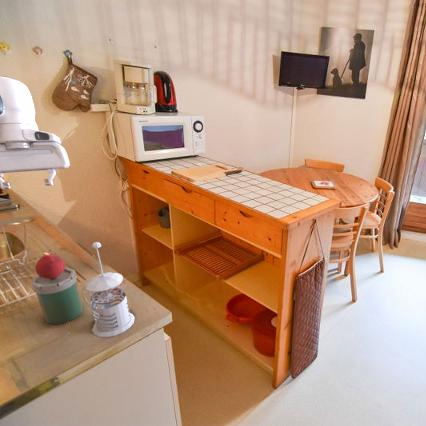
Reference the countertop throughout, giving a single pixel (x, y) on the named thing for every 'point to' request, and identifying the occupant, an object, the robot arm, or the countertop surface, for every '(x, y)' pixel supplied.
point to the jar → (58, 297)
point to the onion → (50, 266)
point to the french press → (108, 303)
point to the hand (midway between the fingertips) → (28, 187)
